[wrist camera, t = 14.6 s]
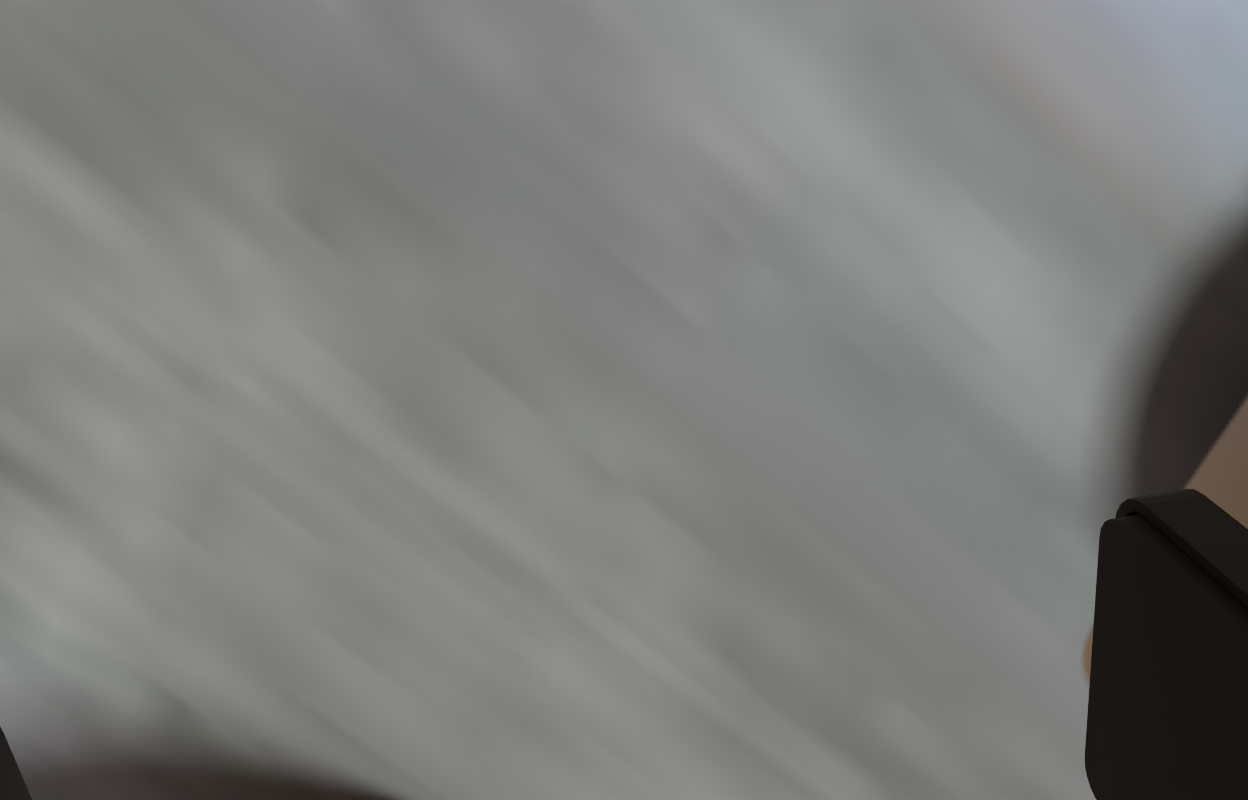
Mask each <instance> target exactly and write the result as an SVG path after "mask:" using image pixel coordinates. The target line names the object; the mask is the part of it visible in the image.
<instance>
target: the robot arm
mask: <svg viewBox="0 0 1248 800" xmlns="http://www.w3.org/2000/svg"><path fill="white" fill-rule="evenodd" d="M1085 768H1086V773H1087V777H1088V781H1089V784H1090V787H1091V789H1092V791H1093V794H1094V796H1095V798H1096V799H1097V800H1248V529H1247V528H1245V527H1244V526H1243V525H1242V524H1240V523H1239V522H1238V521H1236V520H1235V519H1234V518H1233V517H1231V516H1230V515H1229V514H1227V513H1226V512H1225V511H1224V510H1222V509H1221V508H1220V507H1219V506H1217V505H1216V504H1215V503H1214V502H1212V501H1211V500H1210V499H1208V498H1207V497H1206V496H1205V495H1203V494H1201V493H1200V492H1198V491H1196V490H1194V489H1184V490H1178V491H1172V492H1167V493H1161V494H1155V495H1149V496H1144V497H1138V498H1132V499H1127V500H1126V501H1124V502H1123V503H1121V505H1120V507H1119V509H1118V511H1117V514H1116V518H1115V519H1109V520H1108V521H1106V522H1104V524H1103V526H1102V528H1101V532H1100V539H1099V554H1098V568H1097V583H1096V598H1095V613H1094V628H1093V643H1092V658H1091V673H1090V688H1089V703H1088V718H1087V732H1086V747H1085ZM0 800H32V799H31V796H30V794H29V792H28V789H27V787H26V785H25V782H24V780H23V778H22V775H21V773H20V771H19V768H18V766H17V763H16V761H15V759H14V756H13V754H12V752H11V749H10V747H9V745H8V742H7V740H6V738H5V735H4V733H3V731H2V729H1V727H0Z"/></svg>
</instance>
